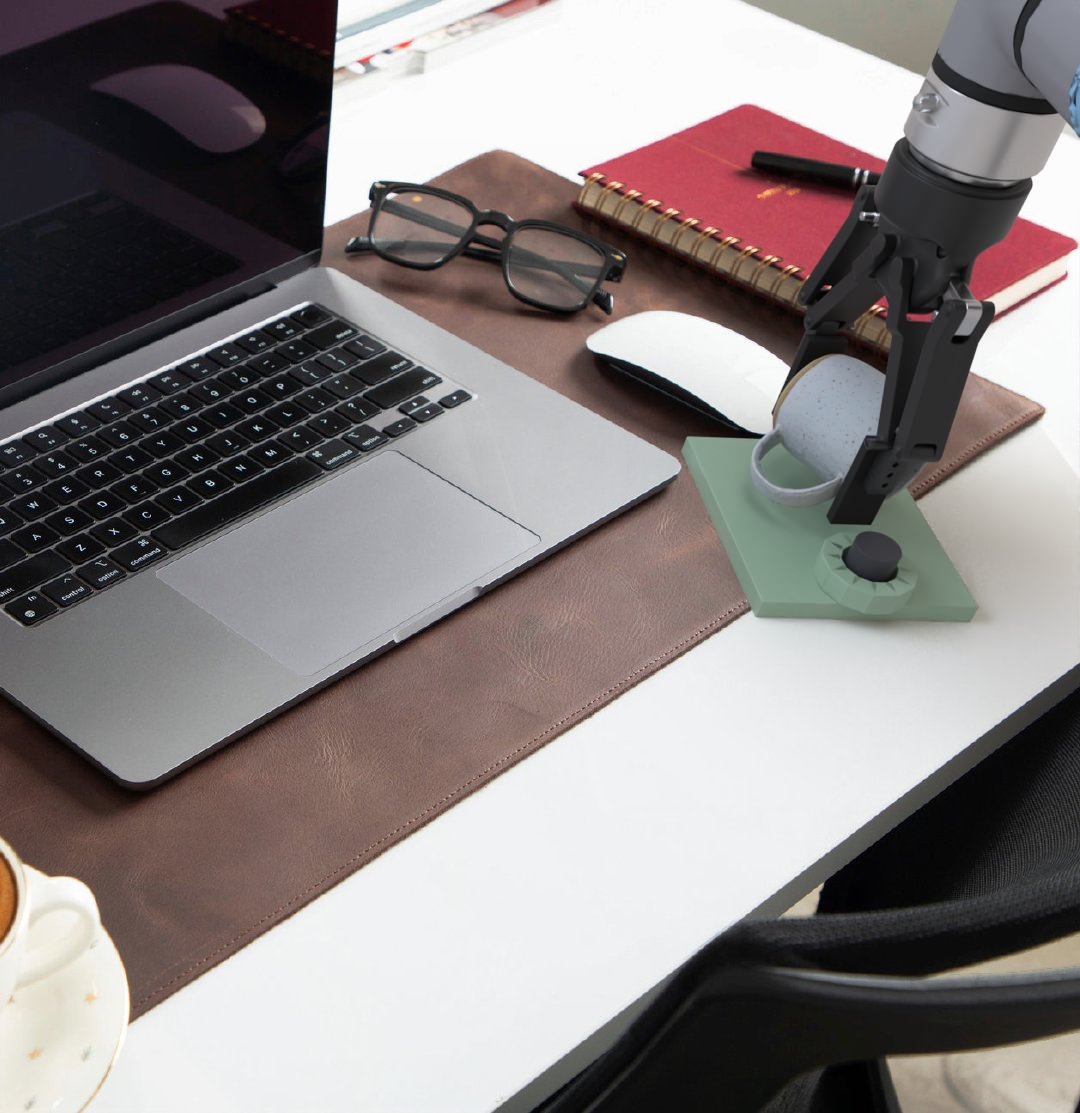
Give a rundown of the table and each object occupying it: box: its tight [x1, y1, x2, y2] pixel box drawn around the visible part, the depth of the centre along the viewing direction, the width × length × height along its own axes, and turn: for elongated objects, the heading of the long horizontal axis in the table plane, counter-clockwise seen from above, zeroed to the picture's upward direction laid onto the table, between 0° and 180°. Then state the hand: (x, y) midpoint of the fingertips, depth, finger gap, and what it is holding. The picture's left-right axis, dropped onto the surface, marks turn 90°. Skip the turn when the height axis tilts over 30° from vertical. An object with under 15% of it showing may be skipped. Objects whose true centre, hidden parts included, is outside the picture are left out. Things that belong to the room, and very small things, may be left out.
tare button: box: [845, 531, 902, 582], centre depth 89 cm, size 3×3×2 cm
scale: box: [681, 436, 979, 623], centre depth 94 cm, size 17×14×3 cm
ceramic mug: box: [751, 354, 930, 508], centre depth 93 cm, size 11×8×8 cm
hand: (818, 466), depth 95 cm, fingers closed on ceramic mug, 10 cm apart
